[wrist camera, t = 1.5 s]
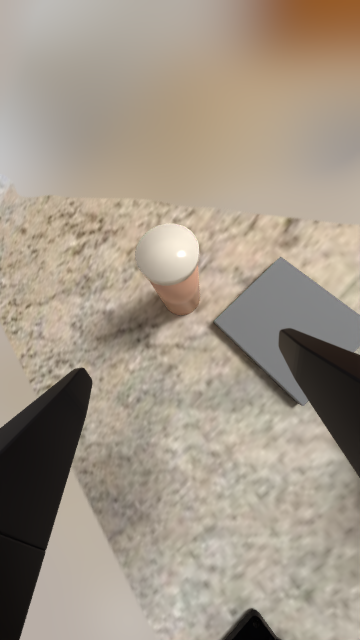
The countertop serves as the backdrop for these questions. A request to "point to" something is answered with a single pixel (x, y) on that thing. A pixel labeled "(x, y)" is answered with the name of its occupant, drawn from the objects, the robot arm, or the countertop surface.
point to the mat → (287, 320)
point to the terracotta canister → (171, 265)
